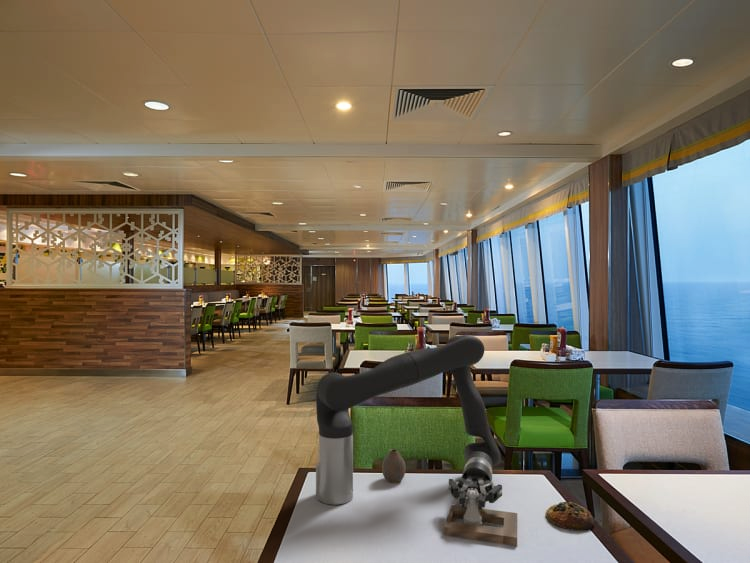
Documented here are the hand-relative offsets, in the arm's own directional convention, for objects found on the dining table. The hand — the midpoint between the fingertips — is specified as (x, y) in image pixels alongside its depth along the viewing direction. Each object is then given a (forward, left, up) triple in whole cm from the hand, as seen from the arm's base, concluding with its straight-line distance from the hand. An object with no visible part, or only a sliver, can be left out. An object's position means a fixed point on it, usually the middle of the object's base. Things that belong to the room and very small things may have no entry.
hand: (471, 503), depth 109 cm
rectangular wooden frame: (+2, +3, -6) cm, 7 cm away
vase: (-25, +24, -7) cm, 35 cm away
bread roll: (+22, +13, -7) cm, 27 cm away
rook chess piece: (0, +3, -6) cm, 7 cm away
